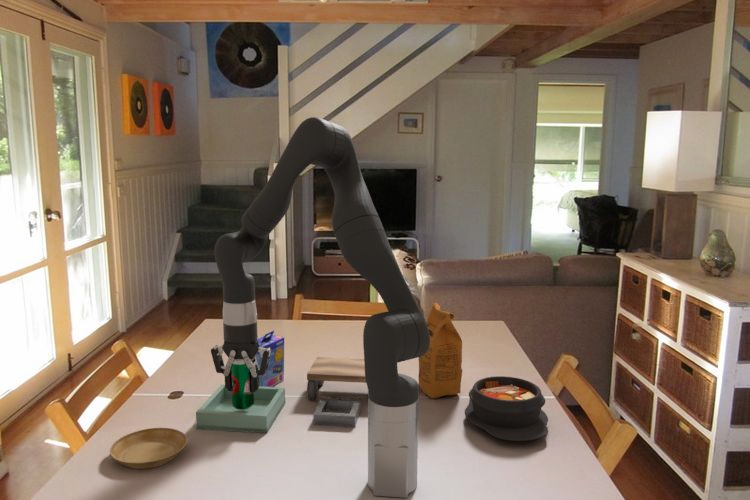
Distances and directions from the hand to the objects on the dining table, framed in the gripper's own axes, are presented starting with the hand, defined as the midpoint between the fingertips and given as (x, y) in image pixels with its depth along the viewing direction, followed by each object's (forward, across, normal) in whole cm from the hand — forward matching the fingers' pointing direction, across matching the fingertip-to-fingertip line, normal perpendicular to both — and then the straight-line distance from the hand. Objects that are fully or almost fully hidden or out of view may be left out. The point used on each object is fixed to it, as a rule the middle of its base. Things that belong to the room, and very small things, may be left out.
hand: (242, 390), depth 144 cm
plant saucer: (+7, -13, -20) cm, 25 cm away
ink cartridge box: (+7, 0, +19) cm, 20 cm away
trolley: (+6, +22, +16) cm, 28 cm away
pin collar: (+6, +22, +2) cm, 23 cm away
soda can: (+4, 0, 0) cm, 4 cm away
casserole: (+7, +60, +4) cm, 61 cm away
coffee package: (+7, +45, +21) cm, 50 cm away
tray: (+6, 0, 0) cm, 6 cm away
